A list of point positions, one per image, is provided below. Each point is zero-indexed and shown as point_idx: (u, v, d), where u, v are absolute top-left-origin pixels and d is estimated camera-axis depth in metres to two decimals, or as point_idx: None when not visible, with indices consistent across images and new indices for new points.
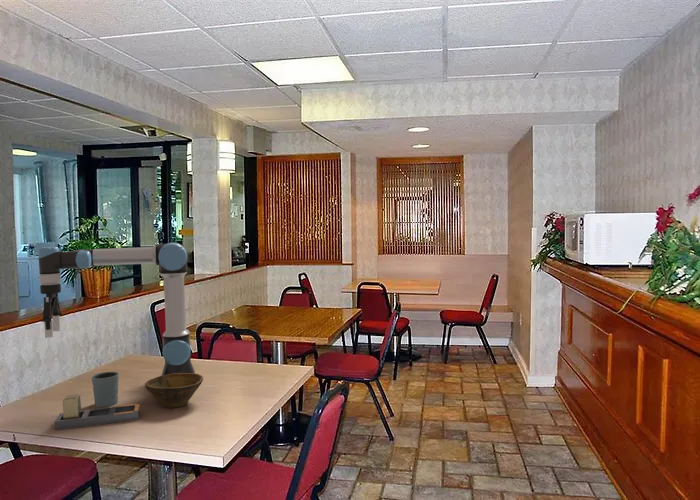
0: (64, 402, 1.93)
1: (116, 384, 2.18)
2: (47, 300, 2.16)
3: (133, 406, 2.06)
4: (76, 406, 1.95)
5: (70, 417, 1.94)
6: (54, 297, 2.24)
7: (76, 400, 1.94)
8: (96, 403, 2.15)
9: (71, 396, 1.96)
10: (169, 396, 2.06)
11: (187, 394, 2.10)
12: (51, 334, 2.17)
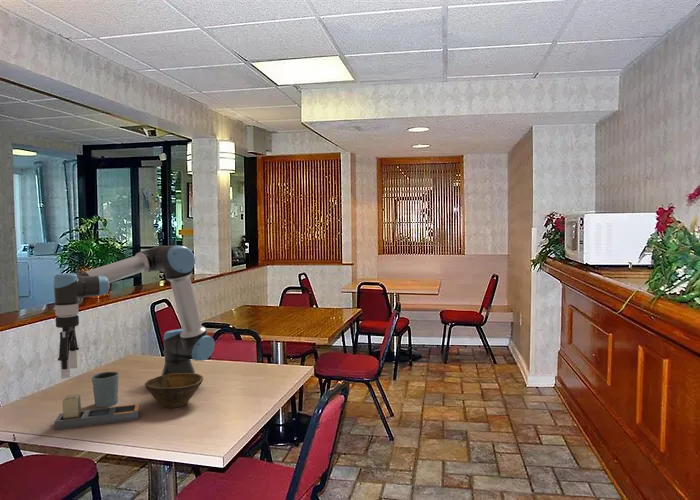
0: (64, 402, 1.93)
1: (116, 384, 2.18)
2: (64, 335, 1.88)
3: (133, 406, 2.06)
4: (76, 406, 1.95)
5: (70, 417, 1.94)
6: (71, 331, 1.96)
7: (76, 400, 1.94)
8: (96, 403, 2.15)
9: (71, 396, 1.96)
10: (169, 396, 2.06)
11: (187, 394, 2.10)
12: (68, 374, 1.89)
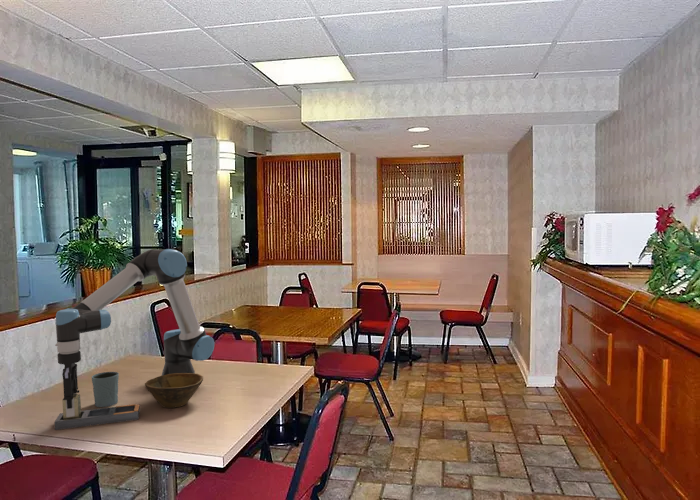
0: (64, 402, 1.93)
1: (116, 384, 2.18)
2: (66, 377, 1.90)
3: (133, 406, 2.06)
4: (76, 406, 1.95)
5: (70, 417, 1.94)
6: (73, 363, 1.97)
7: (76, 400, 1.94)
8: (96, 403, 2.15)
9: None
10: (169, 396, 2.06)
11: (187, 394, 2.10)
12: (73, 413, 1.94)
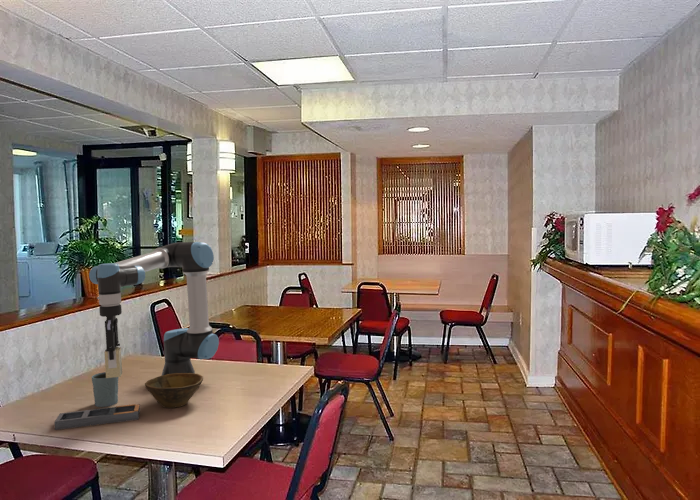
0: (106, 354, 1.97)
1: (116, 384, 2.18)
2: (109, 328, 1.93)
3: (133, 406, 2.06)
4: (117, 358, 1.98)
5: (112, 368, 1.98)
6: (114, 316, 2.00)
7: (117, 352, 1.98)
8: (96, 403, 2.15)
9: None
10: (169, 396, 2.06)
11: (187, 394, 2.10)
12: (115, 364, 1.97)
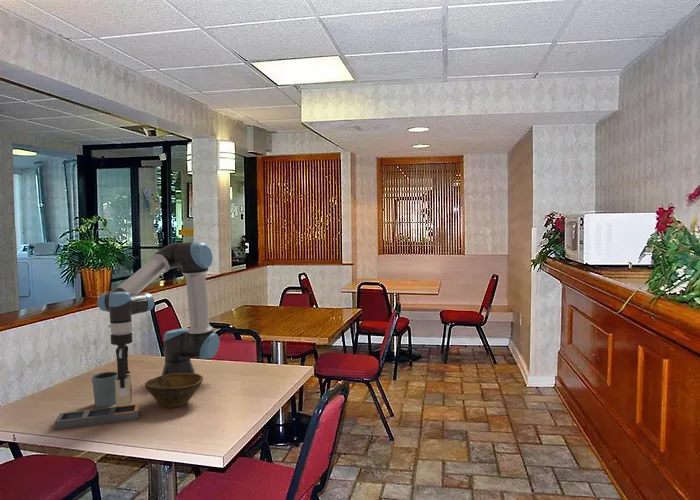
0: (117, 382, 1.98)
1: None
2: (120, 357, 1.95)
3: (133, 406, 2.06)
4: (128, 386, 2.00)
5: (122, 396, 1.99)
6: (125, 345, 2.02)
7: (128, 380, 2.00)
8: (96, 403, 2.15)
9: None
10: (169, 396, 2.06)
11: (187, 394, 2.10)
12: (125, 393, 1.99)
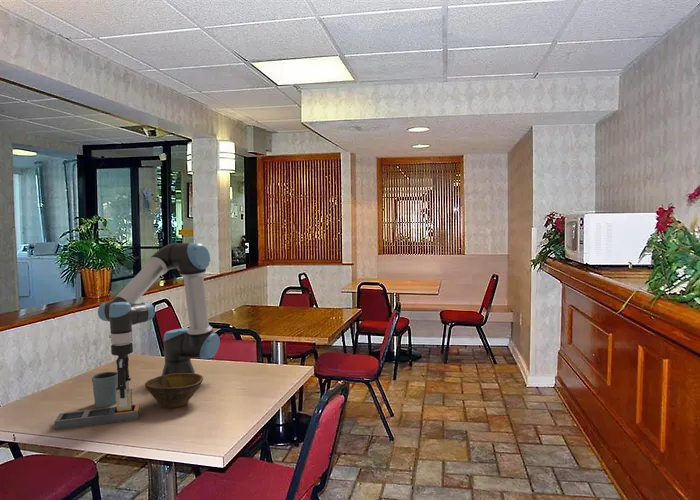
0: (118, 396, 1.99)
1: (116, 384, 2.18)
2: (121, 366, 1.95)
3: (133, 406, 2.06)
4: (129, 400, 2.00)
5: (123, 411, 2.00)
6: (125, 356, 2.02)
7: (129, 394, 2.00)
8: (96, 403, 2.15)
9: None
10: (169, 396, 2.06)
11: (187, 394, 2.10)
12: (125, 403, 1.97)
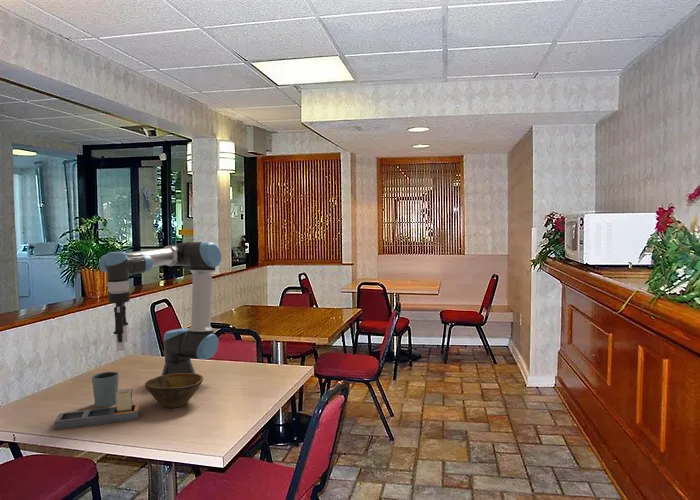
0: (118, 396, 1.99)
1: (116, 384, 2.18)
2: (118, 310, 1.98)
3: (133, 406, 2.06)
4: (129, 400, 2.00)
5: (123, 411, 2.00)
6: (123, 306, 2.05)
7: (129, 394, 2.00)
8: (96, 403, 2.15)
9: (124, 390, 2.01)
10: (169, 396, 2.06)
11: (187, 394, 2.10)
12: (123, 347, 1.99)
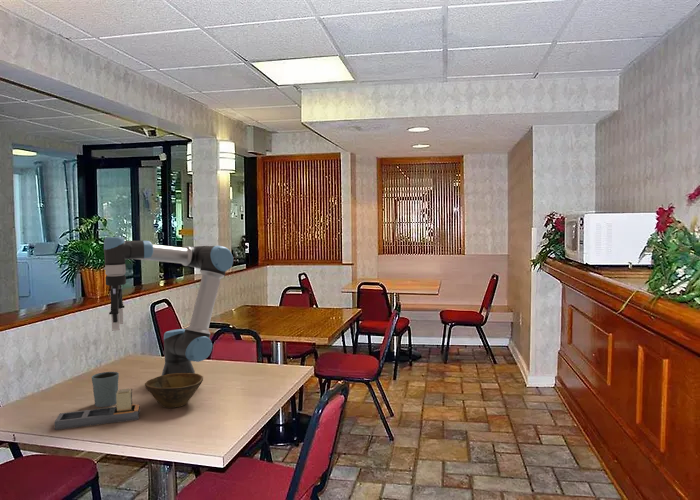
0: (118, 396, 1.99)
1: (116, 384, 2.18)
2: (114, 292, 2.08)
3: (133, 406, 2.06)
4: (129, 400, 2.00)
5: (123, 411, 2.00)
6: (119, 289, 2.16)
7: (129, 394, 2.00)
8: (96, 403, 2.15)
9: (124, 390, 2.01)
10: (169, 396, 2.06)
11: (187, 394, 2.10)
12: (118, 327, 2.09)
